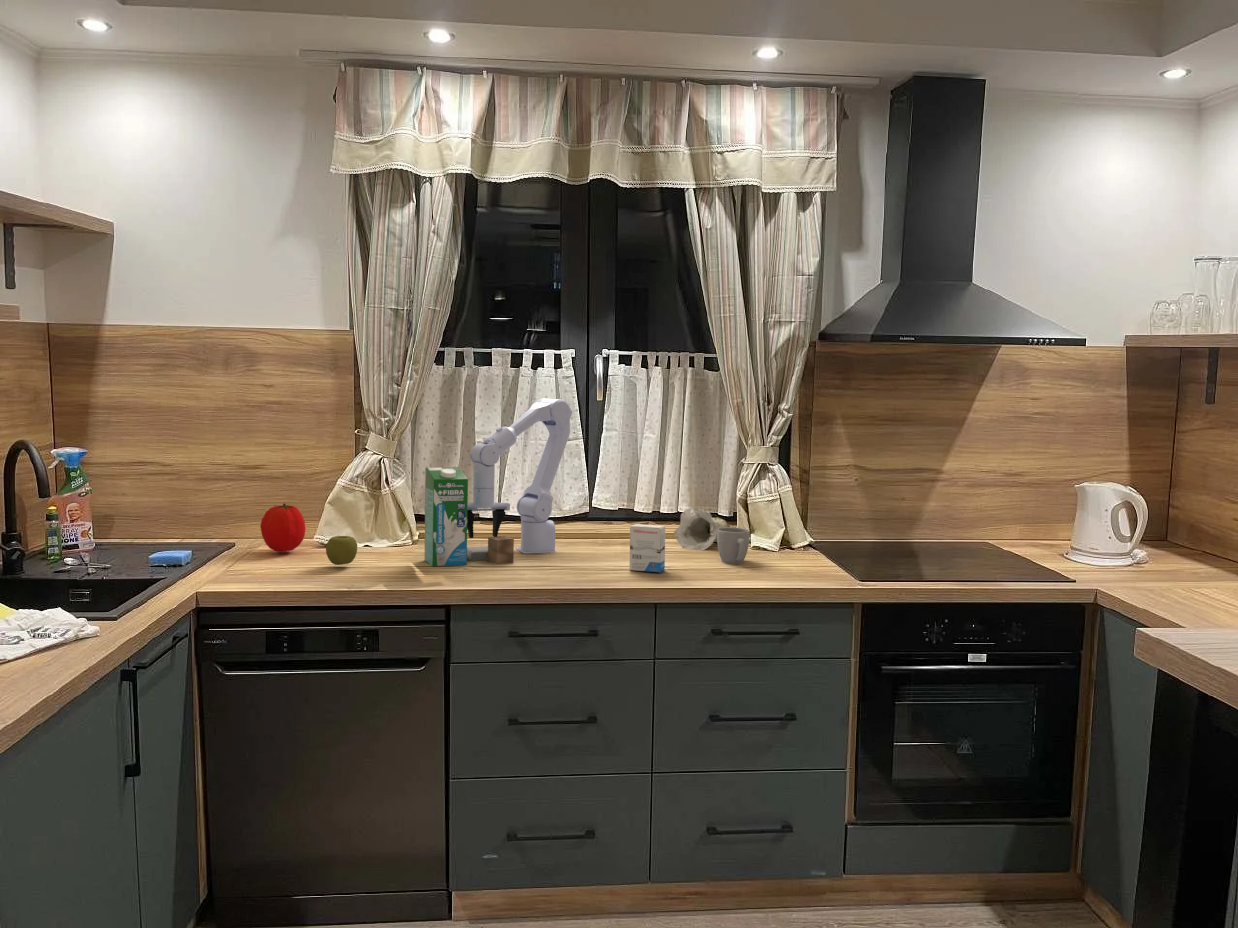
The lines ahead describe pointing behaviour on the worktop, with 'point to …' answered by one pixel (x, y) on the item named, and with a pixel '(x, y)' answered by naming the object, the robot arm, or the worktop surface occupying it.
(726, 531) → the mug
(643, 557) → the ink box
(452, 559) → the milk carton
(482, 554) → the coaster block
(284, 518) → the tomato
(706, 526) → the wavy rim vase
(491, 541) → the walnut block
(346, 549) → the apple
